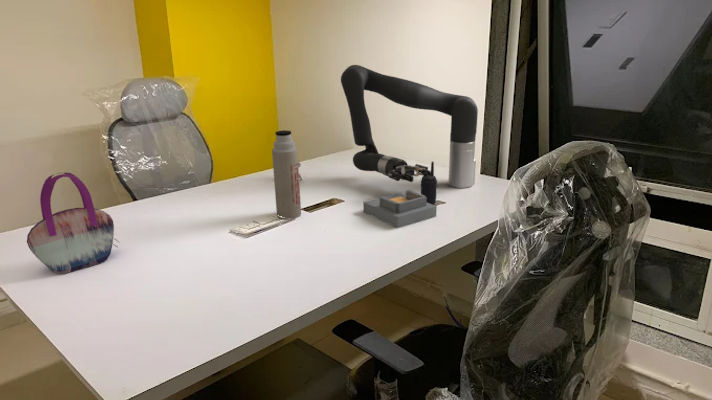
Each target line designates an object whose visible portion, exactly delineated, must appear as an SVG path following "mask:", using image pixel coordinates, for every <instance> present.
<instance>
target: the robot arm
mask: <svg viewBox="0 0 712 400" xmlns="http://www.w3.org/2000/svg"><path fill="white" fill-rule="evenodd" d="M340 83H341V86H342V89H343V93H344V96H345V99H346V102H347V105H348V110H349V115H350V121H351V128H352V129H351V130H352V136H353V139H354V140H353V141H354V144H355V146H357V147H365V149H363V150H360V151H358V152H356V153H355V154H354V155H353V156H352V157H353V158H352V163H353V165H354V166H355V168H356V169H358V170H360V171H364V172H375V173H379V174H382V175H383V176H385V177H388V178H390V180H391V179H392V180H395V182H399V181H407V182H410V183H413V182H414V177H419V176H422V177H423V176H424V172H427V175H431V170H429V167H428V166H425V165H421V164H418V163H417V164H415V165H411V164H408V163H407V161H406V160H404V159H402V158H398V157H395V156H393V155H392V156H391V155H386V154H383V153H379V150H378V148H377V146H376V144H375V142H374V139H373V134H372V128H371V127H372V126H371V122H370V118H369V114H368V112H367V108H366V104H365V91H369V92H371V93H376V94H378V95H380V96H383V97H384V98H386V99H388V100H390V101H391V102H393V103H395V104H398V105H401V106H405V107H407V108H411V109H417V110H424V111H425V110H426V111H428V110H429V111H434V112H435V111H436V112H439V113H441V114H445V115H448V116H450V117H451V120H450V135H449V137H450V139H449V140H450V141H449V158H448V159H449V160H448V161H449V162H448V185H449V186H450V187H453V188H458V189H459V188H460V189H461V188H462V189H463V188H465V189H466V188H471V187H473V186H474V185H475V181H476V166H477V165H476V164H477V161H476V159H475V154H476V153H475V151H476V149H475V148H476V137H477V129H478V112H479V110H478V106H477V103H476V102H475V101H474V99H473V98H471V97H469V96H465V95H460V94H453V93H449V92H445V91H440V90H437V89H435V88H433V87H431V86H428V85H424V84H421V83H419V82H416V81H412V80H408V79H404V78H399V77H396V76H392V75H387V74H383V73H380V72H377V71H374V70H372V69H369V68H367V67H364V66H362V65H360V64H351V65H349V66H347V68H345V69H344V71H343V72H342V73H341V76H340Z"/></svg>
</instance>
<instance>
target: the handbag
mask: <svg viewBox="0 0 712 400" xmlns="http://www.w3.org/2000/svg"><path fill="white" fill-rule="evenodd" d="M61 178H69V179H70V180H71V181H72V183H73V184H74V185H75V187H76V188H77V190H78V192H79V194H80V197H81V201H82V205H83V207H75V208H68V209H64V210H62V211H61V210H60V211H58V212H55V213H52V205H51V199H52V194H53V190H54V188H55V187H54V186H56V185H55V184H56V182H57V181H58V180H60V179H61ZM39 196H40V197H39V201H40V211H41V215H42V220H40V221H38V222H37V223H36V224H35V225H33V227H31V228H30V230H29V232H28V233H27V236H26V243H27V246H28V248H29V250H30V251H31V253H32V254H33V255H34V256H35V257H36V258H37V260H39V261H40V262H41V263H42V264H43V265H44V266H45V267H46V268H47V269H49V270H51V271H52V272H55V273H56V274H68V273H72V272H76V271H78V270H81V269H82V270H83V269H85V268H89V267H92V266H96V265H99V264H102V263H104V262H106V261H108V258H109V257H110V255H111V253H112V248H113V246H114V247H116V248H118V245H116V244H114V240H115V241H116V242H118V243H120V241H119V240H118V239H116V238H114V235H115V226H114V225H115V224H114V220H113V218H112V217H111V215H110V214H108V213H107V212H105V211H103V210H101V209H98V208H95V206H94V203H93V200H92V196H91V194H90V191H89V189H88V187H87V186H86V185H85V183H84V182H83V181H82V180H81V179H80V178H79V177H77V176H76V175H75V174H73V173H71V172H63V173H60V172H57V173H56V174H52V175H49V176H48V177H47V178H46V179H45V181H44V183H43V184H42V188H41V191H40V195H39Z"/></svg>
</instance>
